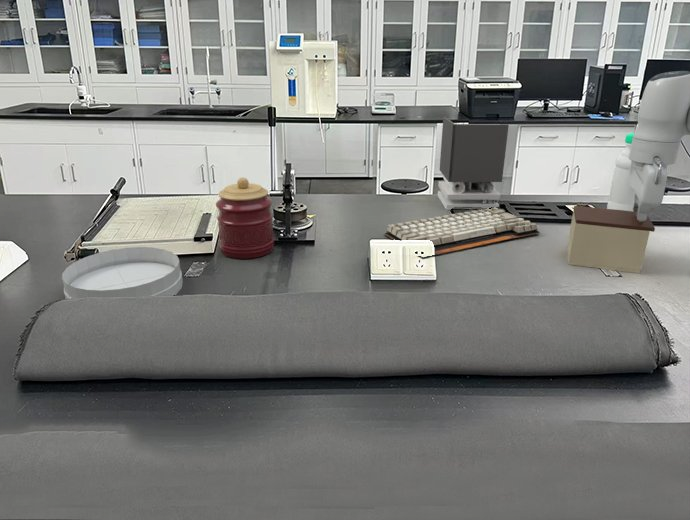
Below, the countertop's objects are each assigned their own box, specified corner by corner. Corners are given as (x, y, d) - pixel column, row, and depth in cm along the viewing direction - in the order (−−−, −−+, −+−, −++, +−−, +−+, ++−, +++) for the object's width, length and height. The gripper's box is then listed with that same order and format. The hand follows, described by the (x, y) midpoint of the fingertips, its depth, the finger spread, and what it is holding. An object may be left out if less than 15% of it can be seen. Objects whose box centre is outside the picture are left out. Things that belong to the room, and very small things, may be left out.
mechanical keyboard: (422, 259, 123) (423, 245, 122) (380, 234, 139) (381, 222, 137) (542, 235, 139) (543, 222, 138) (492, 215, 155) (493, 204, 153)
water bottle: (636, 228, 144) (658, 134, 134) (622, 233, 140) (643, 137, 131) (612, 221, 149) (631, 131, 140) (597, 225, 146) (616, 133, 136)
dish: (166, 260, 122) (163, 240, 120) (197, 296, 104) (194, 273, 103) (59, 282, 111) (54, 260, 109) (74, 326, 93) (68, 301, 92)
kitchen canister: (247, 236, 137) (242, 168, 130) (285, 247, 130) (282, 176, 123) (208, 251, 127) (201, 179, 120) (247, 264, 120) (242, 188, 113)
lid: (645, 215, 122) (650, 194, 120) (654, 231, 112) (659, 208, 110) (573, 208, 127) (577, 188, 125) (575, 223, 117) (579, 201, 115)
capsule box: (632, 254, 126) (641, 215, 122) (639, 273, 116) (649, 231, 112) (566, 247, 131) (573, 209, 127) (568, 264, 120) (575, 223, 117)
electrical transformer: (446, 209, 159) (453, 124, 149) (435, 192, 177) (441, 115, 167) (498, 209, 159) (508, 124, 149) (483, 192, 177) (491, 115, 167)
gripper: (680, 163, 102) (663, 231, 107) (661, 145, 120) (647, 204, 125) (644, 161, 104) (628, 228, 109) (630, 143, 122) (618, 201, 127)
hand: (638, 215), depth 117 cm, fingers closed on lid, 5 cm apart
